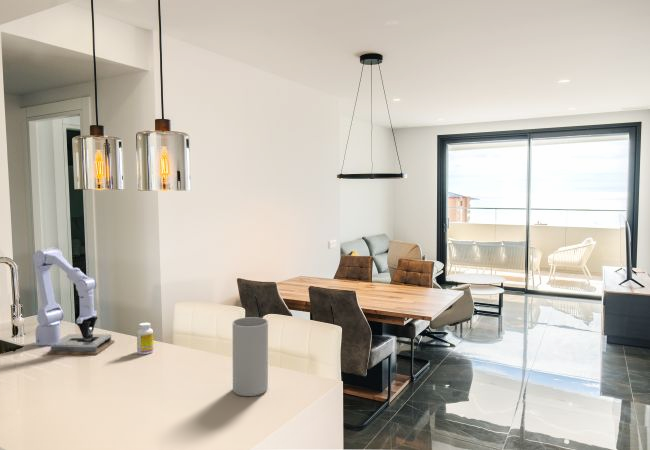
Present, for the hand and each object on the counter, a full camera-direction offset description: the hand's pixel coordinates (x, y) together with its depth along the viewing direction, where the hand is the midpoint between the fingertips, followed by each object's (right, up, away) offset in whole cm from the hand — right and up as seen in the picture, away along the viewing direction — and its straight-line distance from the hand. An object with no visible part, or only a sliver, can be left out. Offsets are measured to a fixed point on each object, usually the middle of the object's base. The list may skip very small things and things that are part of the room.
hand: (87, 334), depth 211 cm
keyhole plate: (-3, -5, 0) cm, 6 cm away
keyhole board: (-3, -6, 0) cm, 7 cm away
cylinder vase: (+80, -10, -42) cm, 91 cm away
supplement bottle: (+28, -7, -4) cm, 29 cm away
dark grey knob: (0, -5, 0) cm, 5 cm away
